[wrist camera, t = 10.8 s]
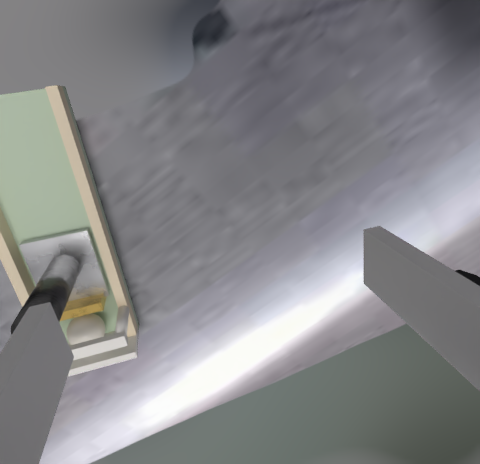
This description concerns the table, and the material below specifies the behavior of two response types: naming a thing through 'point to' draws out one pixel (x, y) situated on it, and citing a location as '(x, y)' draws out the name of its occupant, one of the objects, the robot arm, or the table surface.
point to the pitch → (58, 211)
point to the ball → (85, 328)
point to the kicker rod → (65, 275)
